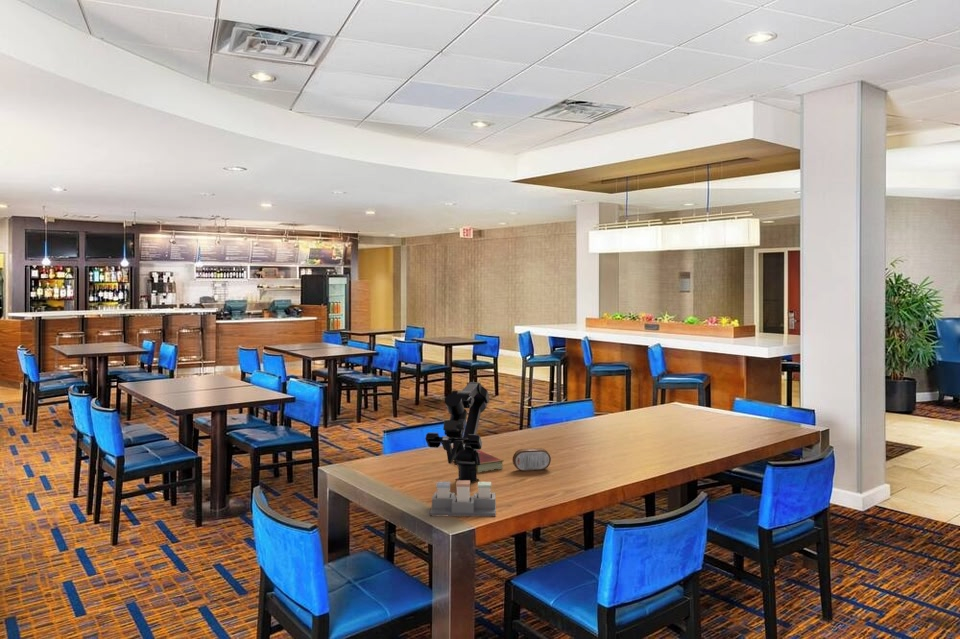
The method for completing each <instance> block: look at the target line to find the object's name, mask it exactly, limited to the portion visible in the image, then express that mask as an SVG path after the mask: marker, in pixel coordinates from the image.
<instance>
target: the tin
mask: <svg viewBox="0 0 960 639" xmlns="http://www.w3.org/2000/svg"><path fill="white" fill-rule="evenodd" d="M551 460H552V457H551V455H550V453H549V452H548V451H547V450H546V449H545V448H542V447H541V448H539V447H537V448H520V449H517V451H515V452H514V453H513V455H512V464H513V466H514V467H515V468H516V469H517V470H519V471H520V472H530V471H531V472H532V471H533V472H534V470H536V471H544V470H546V469H548V468H549V467H550V465H551V462H552V461H551Z"/></svg>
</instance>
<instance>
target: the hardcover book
mask: <svg viewBox="0 0 960 639" xmlns="http://www.w3.org/2000/svg"><path fill="white" fill-rule="evenodd" d="M477 450H478V449H477ZM478 453H479V456H480V465H477V466H476V470H477V472H478V473H483V472H482V471H485V472H489V471H488V470H491V471H495V470H494V469H498V470H503V462H504V461H505V460H504V459H502V458H499V457H498V456H496V455H493V454H490V453H489V452H487V451H484V450H482V449H480V450H478Z"/></svg>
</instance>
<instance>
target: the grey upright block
mask: <svg viewBox="0 0 960 639" xmlns="http://www.w3.org/2000/svg"><path fill="white" fill-rule="evenodd" d="M451 484H452V483H451V481H437V482H436V486H435V487H436V493H437V498H450V493H451Z"/></svg>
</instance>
